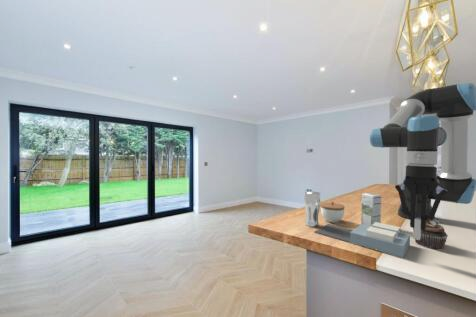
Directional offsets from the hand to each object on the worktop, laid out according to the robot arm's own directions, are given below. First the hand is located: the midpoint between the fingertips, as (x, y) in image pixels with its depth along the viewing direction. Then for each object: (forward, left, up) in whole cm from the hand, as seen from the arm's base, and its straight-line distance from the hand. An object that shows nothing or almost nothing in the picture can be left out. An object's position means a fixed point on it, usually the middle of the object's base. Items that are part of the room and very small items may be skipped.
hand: (417, 238), depth 70 cm
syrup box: (-25, -19, -7) cm, 32 cm away
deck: (-4, -11, -7) cm, 13 cm away
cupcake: (-17, +2, -7) cm, 18 cm away
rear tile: (-8, -10, -3) cm, 13 cm away
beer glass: (-5, -38, -7) cm, 39 cm away
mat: (-4, -26, -7) cm, 27 cm away
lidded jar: (-18, -34, -7) cm, 39 cm away
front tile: (0, -10, -3) cm, 10 cm away
